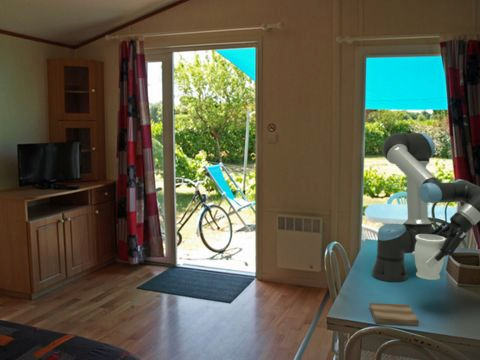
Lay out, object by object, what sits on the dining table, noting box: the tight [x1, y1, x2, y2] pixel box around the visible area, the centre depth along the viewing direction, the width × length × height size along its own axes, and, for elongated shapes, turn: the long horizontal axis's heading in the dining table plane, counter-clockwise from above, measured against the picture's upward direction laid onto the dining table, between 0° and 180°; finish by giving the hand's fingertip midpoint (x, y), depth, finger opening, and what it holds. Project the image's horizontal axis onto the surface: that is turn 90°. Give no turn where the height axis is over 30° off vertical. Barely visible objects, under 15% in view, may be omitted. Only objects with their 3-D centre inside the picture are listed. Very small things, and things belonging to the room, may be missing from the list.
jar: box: [413, 234, 447, 281], centre depth 172 cm, size 11×10×15 cm
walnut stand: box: [369, 302, 420, 327], centre depth 167 cm, size 14×14×2 cm
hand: (421, 260), depth 172 cm, fingers closed on jar, 10 cm apart
